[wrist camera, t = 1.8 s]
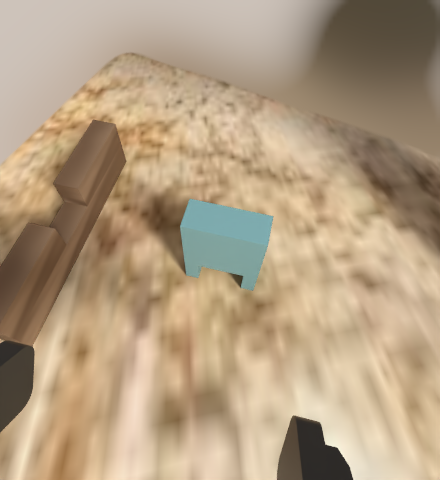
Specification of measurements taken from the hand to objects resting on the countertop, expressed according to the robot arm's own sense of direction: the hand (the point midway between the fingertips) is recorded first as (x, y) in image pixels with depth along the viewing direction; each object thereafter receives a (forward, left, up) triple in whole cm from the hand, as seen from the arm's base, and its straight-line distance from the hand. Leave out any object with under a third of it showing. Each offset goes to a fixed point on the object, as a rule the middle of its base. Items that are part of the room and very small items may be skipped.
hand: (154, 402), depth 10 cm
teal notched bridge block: (0, -12, -16) cm, 20 cm away
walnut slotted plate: (+14, -12, -16) cm, 24 cm away
